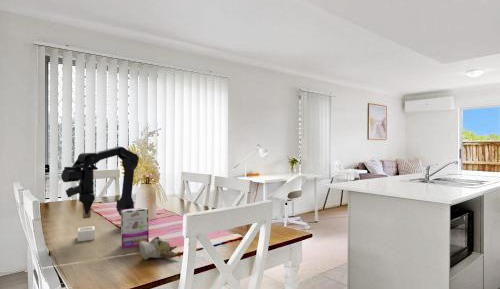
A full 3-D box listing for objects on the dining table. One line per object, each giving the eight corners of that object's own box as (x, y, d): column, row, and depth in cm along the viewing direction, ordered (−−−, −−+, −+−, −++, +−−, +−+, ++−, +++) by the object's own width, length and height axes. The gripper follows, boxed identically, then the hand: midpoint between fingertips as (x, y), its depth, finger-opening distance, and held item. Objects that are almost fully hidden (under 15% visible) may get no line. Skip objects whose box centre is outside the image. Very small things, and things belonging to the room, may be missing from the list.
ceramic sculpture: (140, 233, 126) (177, 232, 130) (138, 254, 126) (176, 252, 131) (138, 241, 116) (179, 240, 120) (137, 264, 116) (177, 262, 120)
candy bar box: (147, 242, 141) (147, 206, 141) (148, 245, 137) (148, 208, 137) (120, 246, 136) (120, 209, 136) (121, 249, 132) (121, 211, 131)
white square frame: (94, 235, 150) (94, 226, 150) (94, 239, 144) (94, 229, 144) (78, 237, 147) (78, 228, 147) (77, 241, 141) (77, 231, 141)
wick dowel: (90, 216, 147) (90, 197, 147) (90, 217, 144) (90, 198, 144) (82, 217, 146) (82, 198, 145) (82, 218, 143) (82, 199, 143)
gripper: (67, 178, 149) (67, 210, 149) (65, 183, 133) (65, 219, 133) (93, 177, 154) (93, 208, 155) (94, 181, 138) (94, 216, 138)
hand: (86, 213), depth 145 cm, fingers closed on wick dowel, 3 cm apart
